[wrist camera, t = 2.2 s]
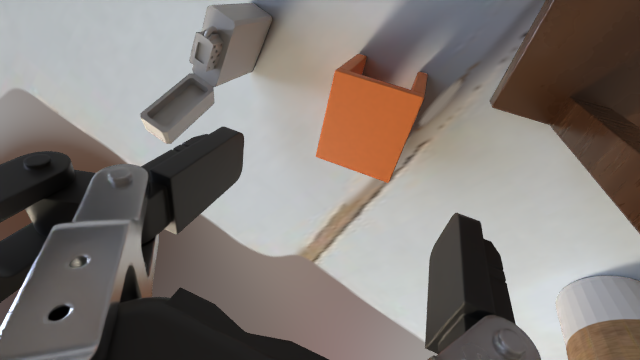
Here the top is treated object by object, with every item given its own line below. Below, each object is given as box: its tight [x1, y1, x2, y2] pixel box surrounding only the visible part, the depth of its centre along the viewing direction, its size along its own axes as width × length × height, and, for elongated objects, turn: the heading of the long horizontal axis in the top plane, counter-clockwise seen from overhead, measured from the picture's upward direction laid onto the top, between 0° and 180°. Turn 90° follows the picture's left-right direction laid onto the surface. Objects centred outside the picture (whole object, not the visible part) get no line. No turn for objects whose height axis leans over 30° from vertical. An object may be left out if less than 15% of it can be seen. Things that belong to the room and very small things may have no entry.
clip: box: [316, 54, 428, 183], centre depth 17 cm, size 4×5×5 cm
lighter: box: [141, 3, 272, 144], centre depth 18 cm, size 7×2×8 cm, turn 151°
